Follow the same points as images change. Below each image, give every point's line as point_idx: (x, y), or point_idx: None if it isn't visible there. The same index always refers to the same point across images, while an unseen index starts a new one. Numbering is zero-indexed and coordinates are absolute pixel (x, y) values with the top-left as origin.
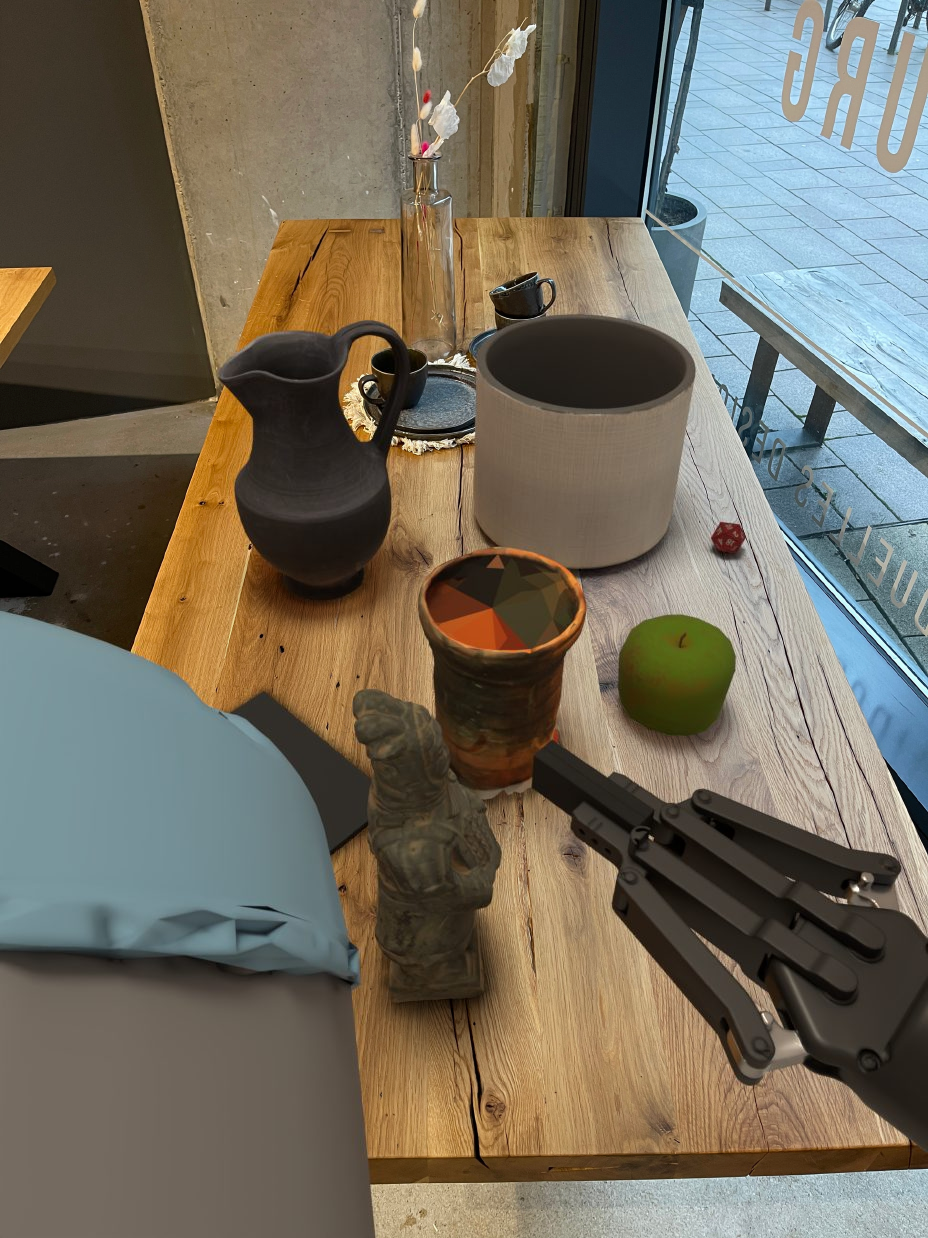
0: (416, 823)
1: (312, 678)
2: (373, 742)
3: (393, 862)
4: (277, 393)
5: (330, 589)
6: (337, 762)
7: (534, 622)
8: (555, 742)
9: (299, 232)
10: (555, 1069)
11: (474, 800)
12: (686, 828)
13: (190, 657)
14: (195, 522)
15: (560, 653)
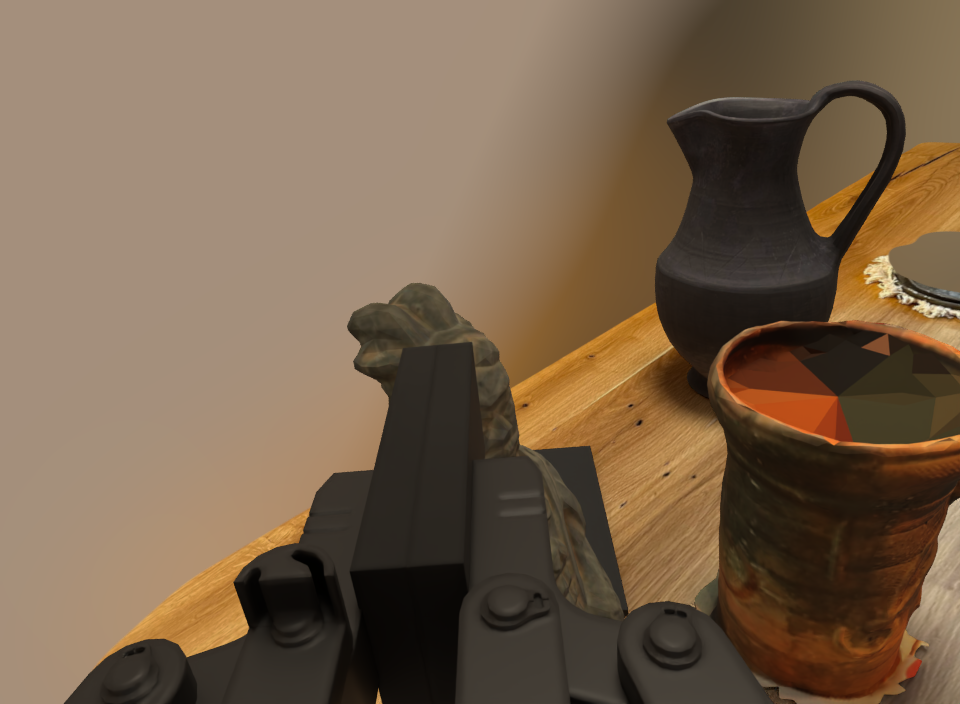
0: None
1: (646, 457)
2: (363, 338)
3: None
4: (715, 137)
5: None
6: (600, 539)
7: (894, 433)
8: (471, 348)
9: (924, 148)
10: None
11: (600, 596)
12: (481, 682)
13: (557, 397)
14: (651, 309)
15: (899, 475)
